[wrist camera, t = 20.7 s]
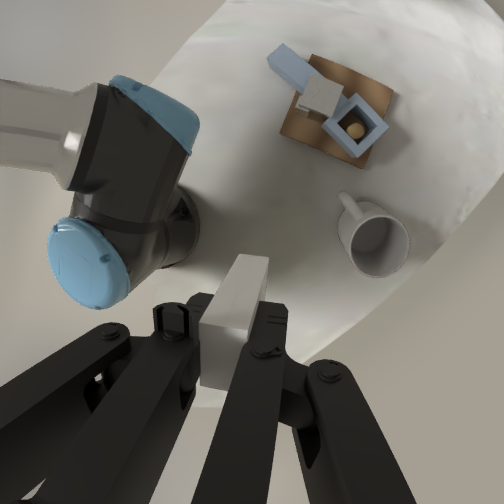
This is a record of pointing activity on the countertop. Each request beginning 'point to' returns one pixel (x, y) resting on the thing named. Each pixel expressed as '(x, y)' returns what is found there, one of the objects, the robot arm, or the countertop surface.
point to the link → (298, 77)
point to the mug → (372, 237)
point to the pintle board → (350, 123)
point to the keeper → (319, 97)
